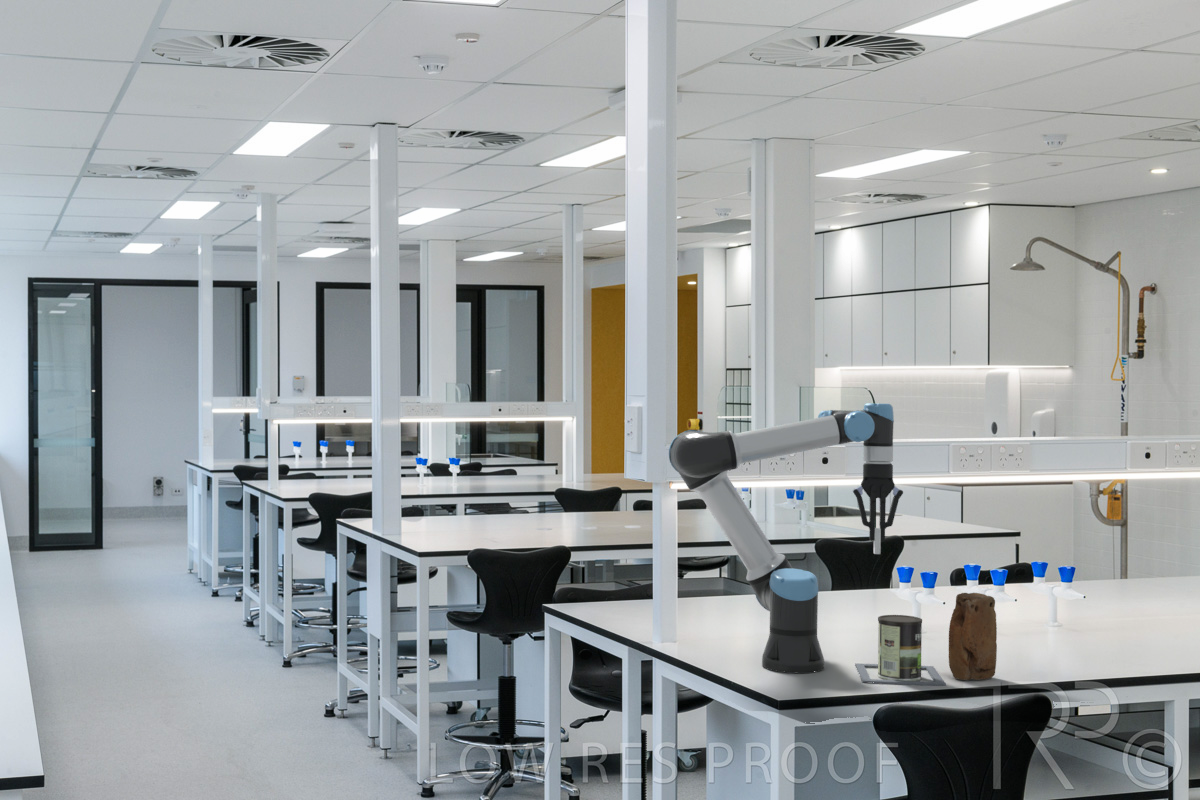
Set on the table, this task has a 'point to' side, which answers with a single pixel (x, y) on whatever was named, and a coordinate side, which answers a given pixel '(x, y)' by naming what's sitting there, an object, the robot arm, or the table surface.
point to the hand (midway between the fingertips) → (876, 553)
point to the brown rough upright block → (973, 637)
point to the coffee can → (899, 647)
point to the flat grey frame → (931, 670)
